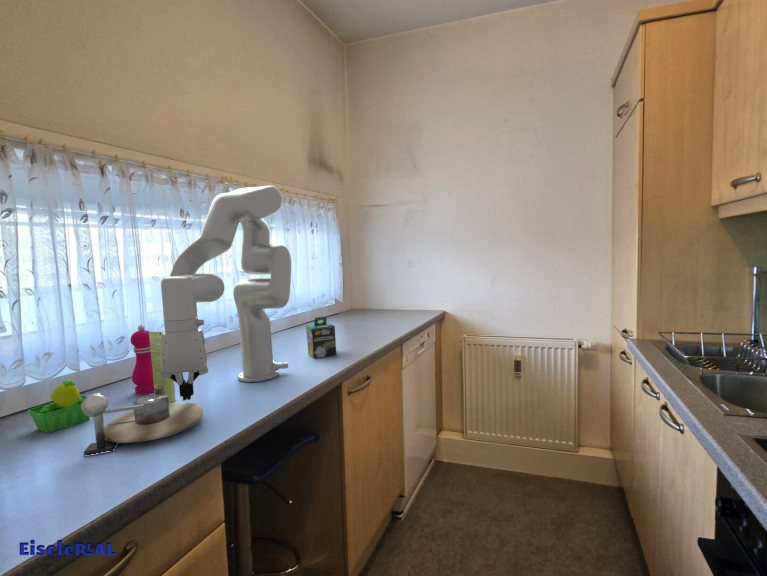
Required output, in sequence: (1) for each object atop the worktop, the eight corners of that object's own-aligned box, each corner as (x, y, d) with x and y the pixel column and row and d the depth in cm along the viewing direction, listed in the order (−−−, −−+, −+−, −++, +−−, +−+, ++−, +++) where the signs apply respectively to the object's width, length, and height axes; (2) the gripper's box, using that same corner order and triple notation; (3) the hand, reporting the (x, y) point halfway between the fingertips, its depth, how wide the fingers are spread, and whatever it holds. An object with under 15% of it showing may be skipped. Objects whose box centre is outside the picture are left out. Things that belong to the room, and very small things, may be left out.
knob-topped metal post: (149, 438, 93) (144, 384, 91) (145, 446, 89) (140, 389, 88) (91, 448, 89) (84, 391, 88) (84, 456, 85) (77, 397, 84)
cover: (171, 410, 101) (169, 392, 101) (167, 421, 95) (165, 401, 94) (138, 415, 99) (136, 396, 99) (132, 427, 92) (130, 406, 92)
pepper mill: (148, 395, 122) (142, 327, 120) (127, 395, 123) (120, 327, 122) (166, 387, 129) (160, 322, 127) (146, 387, 130) (139, 323, 129)
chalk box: (330, 350, 168) (328, 313, 166) (337, 355, 159) (335, 316, 158) (307, 354, 164) (304, 316, 163) (313, 359, 156) (310, 319, 154)
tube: (178, 396, 120) (171, 328, 118) (178, 402, 115) (171, 331, 113) (155, 400, 117) (148, 331, 116) (154, 406, 113) (147, 334, 111)
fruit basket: (82, 413, 110) (77, 371, 109) (100, 419, 105) (95, 375, 104) (29, 430, 100) (23, 384, 99) (46, 437, 96) (40, 389, 95)
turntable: (206, 402, 110) (204, 378, 109) (198, 432, 91) (196, 404, 90) (118, 414, 104) (115, 390, 103) (90, 450, 85) (87, 420, 84)
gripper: (214, 321, 110) (219, 390, 112) (150, 326, 106) (156, 398, 107) (213, 325, 103) (218, 398, 105) (144, 331, 99) (150, 408, 100)
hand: (187, 398), depth 106 cm, fingers closed
